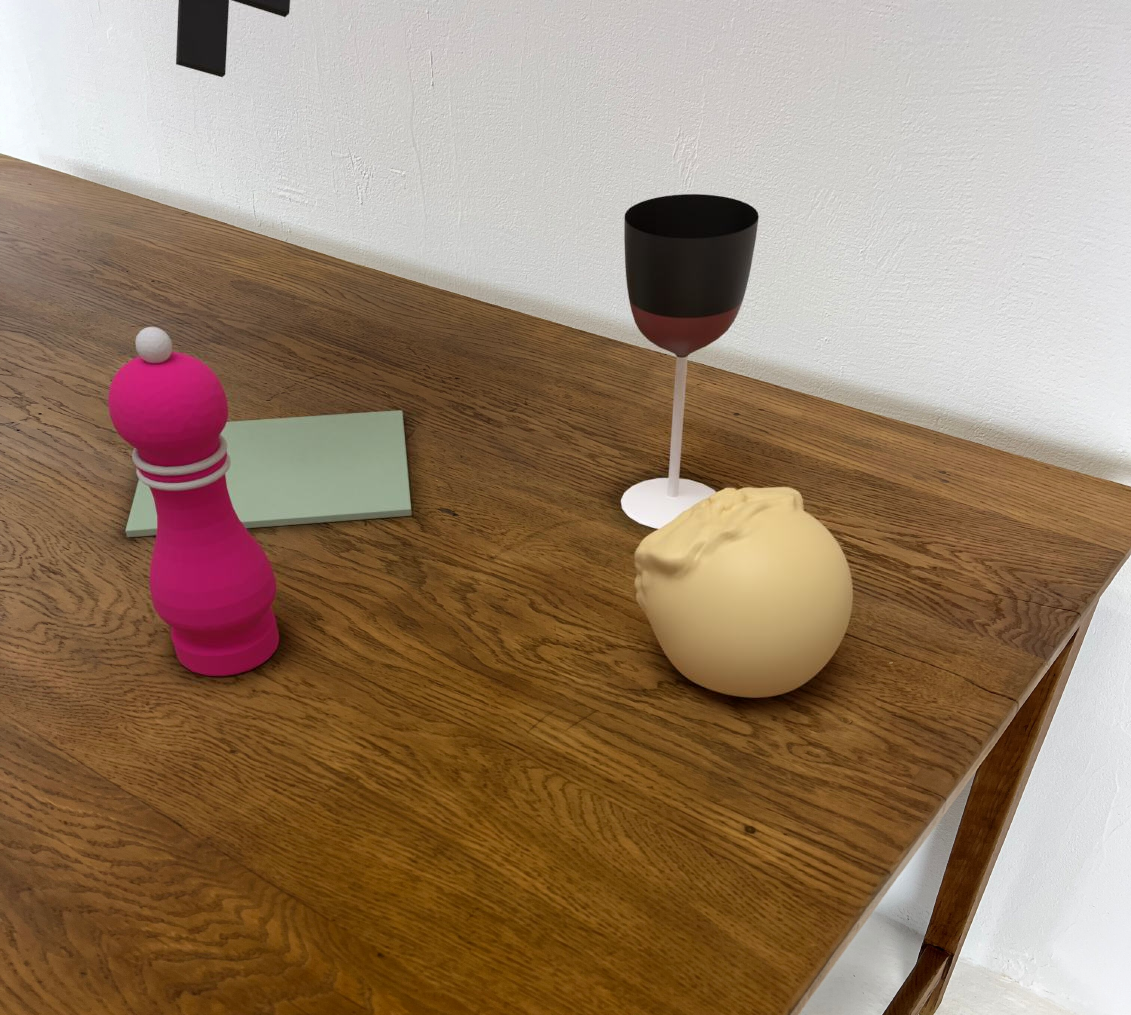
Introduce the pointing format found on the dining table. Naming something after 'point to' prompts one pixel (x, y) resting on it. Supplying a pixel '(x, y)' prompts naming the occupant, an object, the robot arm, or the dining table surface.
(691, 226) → the wineglass
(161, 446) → the pepper mill
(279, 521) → the placemat
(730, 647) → the sculpture
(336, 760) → the dining table surface
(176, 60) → the robot arm
